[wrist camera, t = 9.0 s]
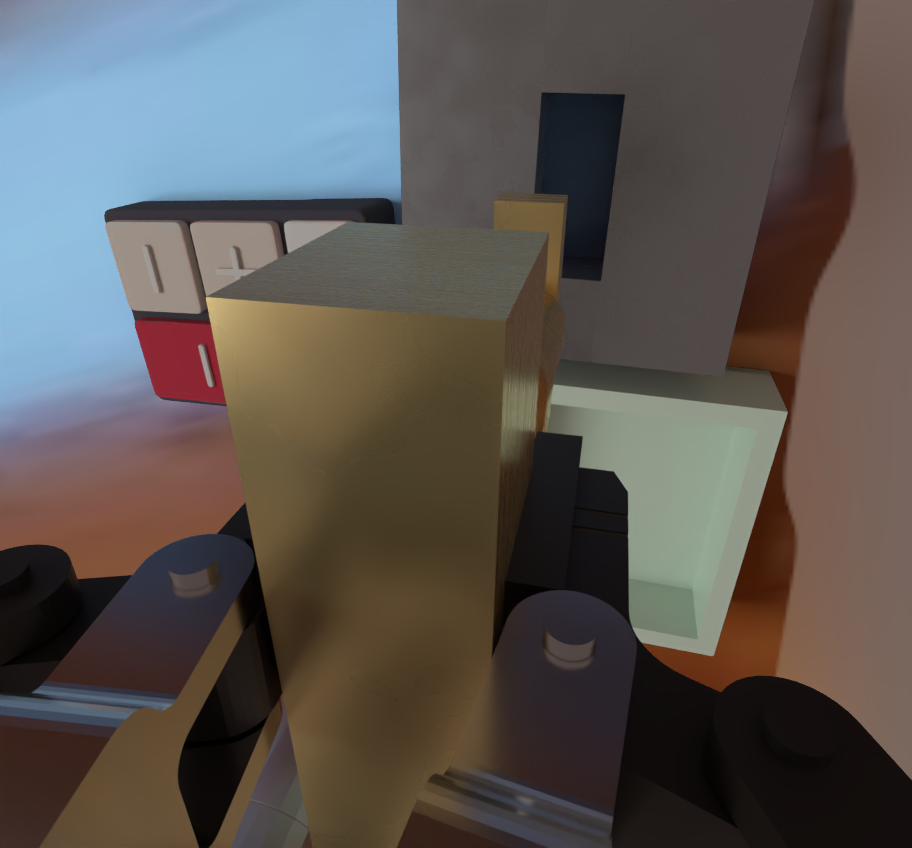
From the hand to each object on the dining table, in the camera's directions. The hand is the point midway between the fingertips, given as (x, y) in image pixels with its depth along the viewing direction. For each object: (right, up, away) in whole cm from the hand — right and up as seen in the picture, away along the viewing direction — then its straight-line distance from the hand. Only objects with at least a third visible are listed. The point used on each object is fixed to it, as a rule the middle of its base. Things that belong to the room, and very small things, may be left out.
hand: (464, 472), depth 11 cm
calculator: (-10, +8, +26) cm, 29 cm away
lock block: (+6, +12, +18) cm, 23 cm away
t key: (+2, +4, +6) cm, 8 cm away
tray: (+8, -2, +25) cm, 27 cm away
